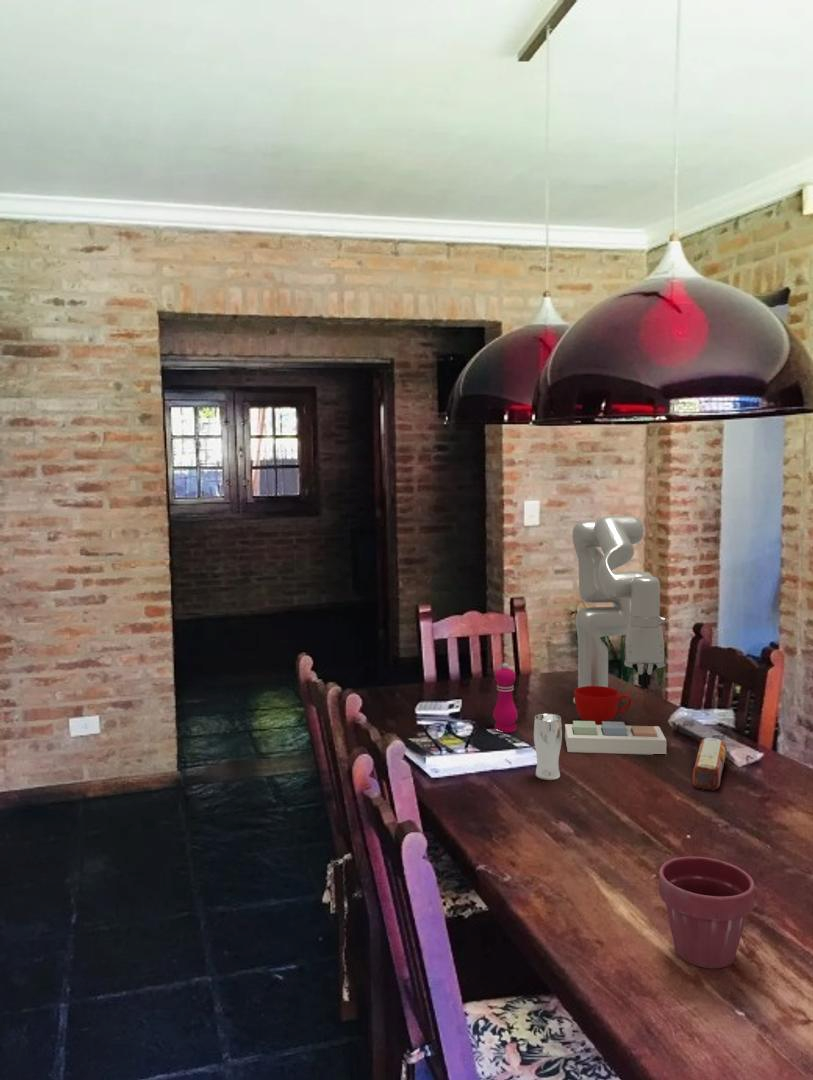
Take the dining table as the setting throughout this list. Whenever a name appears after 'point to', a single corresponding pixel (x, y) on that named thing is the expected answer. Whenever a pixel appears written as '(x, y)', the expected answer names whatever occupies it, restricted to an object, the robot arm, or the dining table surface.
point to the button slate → (614, 728)
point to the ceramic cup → (598, 703)
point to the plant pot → (706, 908)
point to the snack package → (709, 763)
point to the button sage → (584, 728)
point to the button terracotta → (643, 731)
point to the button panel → (615, 742)
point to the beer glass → (547, 745)
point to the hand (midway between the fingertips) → (644, 687)
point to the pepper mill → (505, 701)
